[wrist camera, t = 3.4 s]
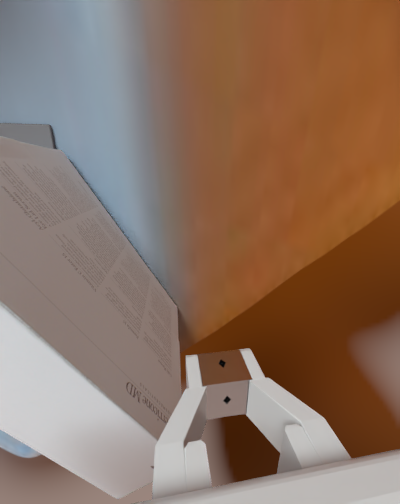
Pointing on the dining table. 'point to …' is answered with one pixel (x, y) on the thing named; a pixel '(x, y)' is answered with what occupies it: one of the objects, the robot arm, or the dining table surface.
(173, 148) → the dining table surface
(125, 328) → the skincare box
